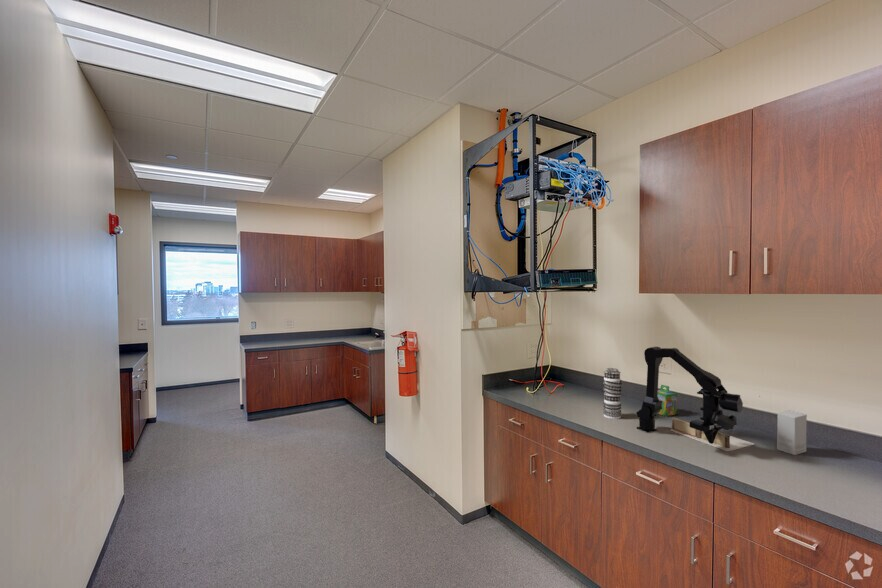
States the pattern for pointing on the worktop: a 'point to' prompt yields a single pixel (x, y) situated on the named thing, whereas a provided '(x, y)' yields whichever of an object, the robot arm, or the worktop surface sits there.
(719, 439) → the folding fence panel
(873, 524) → the worktop surface
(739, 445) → the fence post and layout card
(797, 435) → the skincare box
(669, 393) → the chalk box
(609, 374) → the decorative candle
